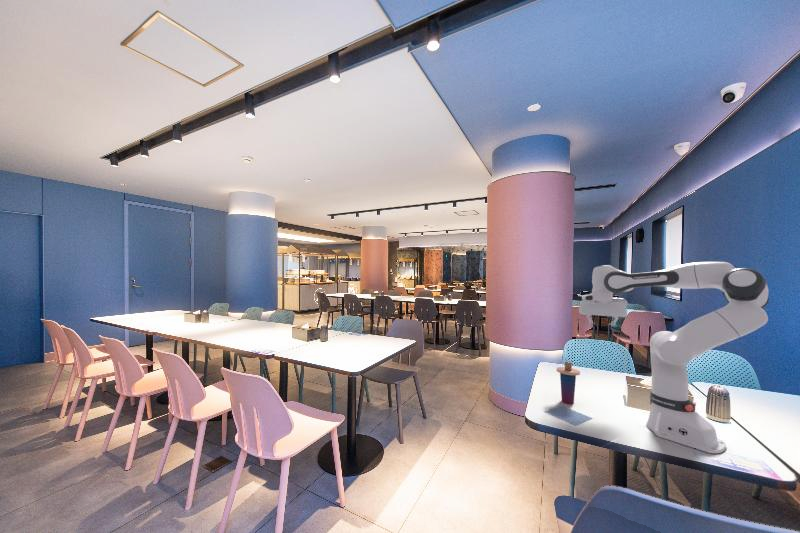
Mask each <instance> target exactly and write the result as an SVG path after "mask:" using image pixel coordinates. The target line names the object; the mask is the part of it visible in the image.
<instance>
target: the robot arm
mask: <svg viewBox="0 0 800 533" xmlns="http://www.w3.org/2000/svg"><path fill="white" fill-rule="evenodd" d="M591 274H592V275H591V279H592V280H591V283H592V289H591V293H588V294H583V295H582V296H581V299H582V300H580V303H579V307H578V313H579V314H580V315H585V316H586V317H587V319H588V321H589V322H588V323H589V325H592V324H594V320H592V319H591V316H599V317H600V316H603V317H613V318H614V319H613V321H611V324H610V325H611V326H612V327H613V326H614V327H615V326H616V323H617V321H618V320H619V318H626V317H627V316H628V308H627V307H628V303H629V302H628V300H627V299H626V298H621V297H613V296H614V294H618V293H626V292H630V291H633V290H634V289H635V288H636V289H637V288H643V287H644V288H645V287H646V288H647V287H665V288H666V287H667V288H673V289H681V290H682V289H683V290H686V289H687V290H698V289H701V290H702V289H717V290H720V291H721V292H722V295H723V296H724V298H725V299H726V301H727V302H728V303H727V304H726V305H725V306H723V307H720V308H718V309H716V310H714V311H711V312H709V313H707V314H704V315H702V316H699V317H697V318H694V319H693V320H690V321H689V322H688V323H686V324H685V325H684V326H681V327H680V328H678V329H676V330H673V331H670V330H660V331H657V332H655V333H654V334H653V335H651V337H650V340H649V349H650V350H649V353H650V367H651V368H650V369H651V391H650V394H649V402H650V403H649V404H650V411H649V415H648V419H647V422H646V424H645V425H646V427H647V428H648V429H650V430H651V431H652V432H653V433H654V434H655V435H656V436H657V437H659V438H660V439H664V440H665V439H666V440H668V441H671V442H674V443H677V444H680V445H683V446H686V447H690V448H694V449H695V448H696V449H695V450H699V451H702V452H704V453H709V454H720V453H723V452H725V450H726V449H727V446H726V442H725V441H723V439H719V438H718V435H717V431H716V429H715V427H714V425H713V424H712V423H710V422H709V421H708V420H707V419H705V418H704V417H703V416H702V415H700V414H699V413H698V412H697V411H696V406H697V402H696V401H695V402H693V401H692V400H691V399H689V375H688V370H687V364H689V363H690V362H691V361H693V360H694V359H696V358H698V357H701V355H703V354H705V353H707V352H709V351H710V350H712V349H714V348H717V347H719V346H721V345H724V344H726V343H728V342H731V341H734V340H737V339H740V338H742V337H744V336H746V335H749V334H751V333H753V332H755V331H756V330H758V329H760V328H761V327H763V326H765V325H766V324H767V323H768V321H769V317H768V316H769V315H768V314H767V312H766V311H765V308H766V306H767V305H768V303H769V300H770V299H769V298H770V297H769V286H768V284H767V280H766V278H765V277H764V276H763V274H761V272H759V271H757V270H756V269H752V268H748V267H739V268H736V267H735V266H734V265H733V264H731V263H730V262H727V261H698V262H697V261H696V262H689V263H683V264H679V265H674V266H670V267H668V268H665V269H659V270H655V271H648V272H647V271H646V272H636V273H630V272H628V271H624V270H620V269H617V268H615V267H614V266H612V265H611V264H603V265H598V266H595V267H594V268H593V270H592V273H591Z"/></svg>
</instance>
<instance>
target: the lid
mask: <svg viewBox="0 0 800 533" xmlns="http://www.w3.org/2000/svg"><path fill="white" fill-rule="evenodd" d="M572 364H573V362H572V361H570V360H564V366H558V367H556V372H558V373H559V374H560V373H562V374H566V375H576V376H579V375H581V371H580V370H579V369H575V368H572V367H573V365H572Z"/></svg>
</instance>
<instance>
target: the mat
mask: <svg viewBox="0 0 800 533" xmlns="http://www.w3.org/2000/svg"><path fill="white" fill-rule="evenodd" d="M544 413H546V414H549V415H551V416H553V417H555V418H557V419H559V420H561V421H564V422H566V423H569V424H570V425H573V426H575V427H576V426H579V425H580V424H583V423H586V422H588V421H590V420H593V419H594V418H593V417H591V416H588V415H585V414H583V413H581V412H578V411H576V410H573V409H571V408H568V407H565V406H564V405H559V406H557V407H553V408H550V409H548V410H545V411H544Z"/></svg>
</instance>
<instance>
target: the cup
mask: <svg viewBox="0 0 800 533" xmlns="http://www.w3.org/2000/svg"><path fill="white" fill-rule="evenodd" d="M559 376H560V378H559V379H560V392H561V393H560V395H561V396H560V397H561V402H562V403H563V404H565V405H574V404H575V390H576V380H577V375H566V374H562V373H559Z"/></svg>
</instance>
